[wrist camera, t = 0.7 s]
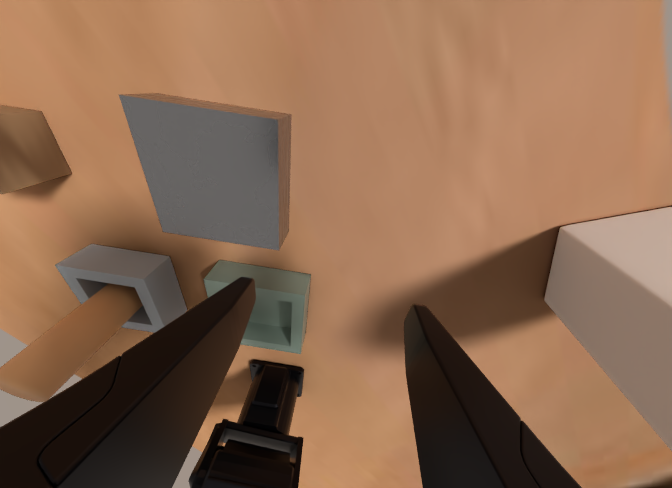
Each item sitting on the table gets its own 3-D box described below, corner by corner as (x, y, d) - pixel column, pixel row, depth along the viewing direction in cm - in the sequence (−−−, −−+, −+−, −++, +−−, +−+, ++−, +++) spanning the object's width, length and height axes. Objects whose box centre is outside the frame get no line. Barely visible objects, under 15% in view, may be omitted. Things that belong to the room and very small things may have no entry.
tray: (305, 331, 25) (300, 354, 23) (230, 319, 25) (218, 340, 23) (311, 274, 21) (305, 295, 19) (219, 259, 21) (203, 279, 19)
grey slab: (290, 228, 19) (279, 250, 16) (189, 212, 19) (163, 231, 16) (292, 113, 14) (278, 119, 12) (161, 93, 14) (118, 94, 12)
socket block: (187, 309, 25) (167, 334, 22) (120, 299, 25) (94, 322, 22) (169, 256, 21) (143, 279, 18) (91, 243, 21) (54, 265, 19)
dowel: (164, 293, 24) (58, 405, 16) (132, 288, 24) (10, 397, 16) (154, 269, 22) (29, 380, 14) (120, 263, 22) (-26, 371, 14)
